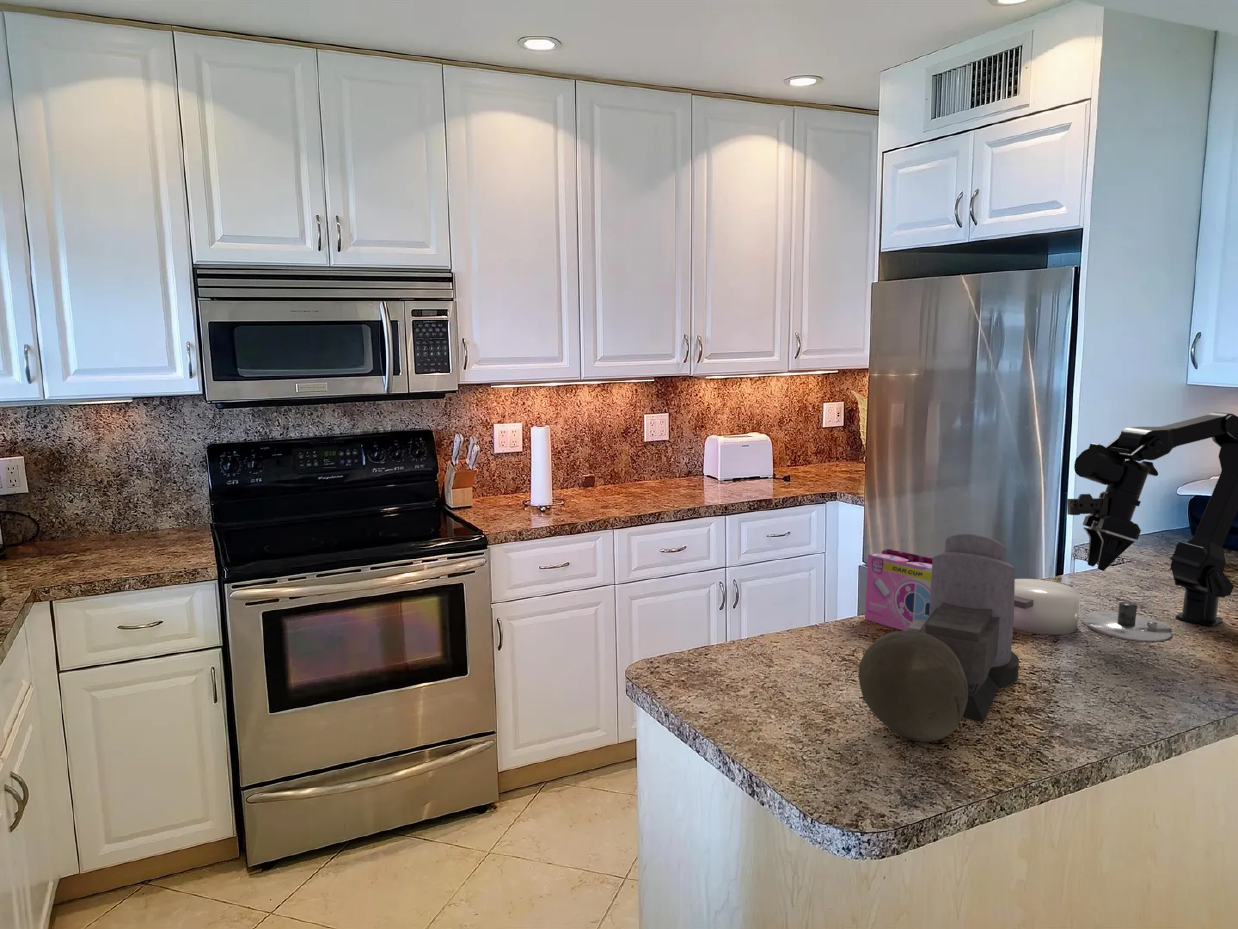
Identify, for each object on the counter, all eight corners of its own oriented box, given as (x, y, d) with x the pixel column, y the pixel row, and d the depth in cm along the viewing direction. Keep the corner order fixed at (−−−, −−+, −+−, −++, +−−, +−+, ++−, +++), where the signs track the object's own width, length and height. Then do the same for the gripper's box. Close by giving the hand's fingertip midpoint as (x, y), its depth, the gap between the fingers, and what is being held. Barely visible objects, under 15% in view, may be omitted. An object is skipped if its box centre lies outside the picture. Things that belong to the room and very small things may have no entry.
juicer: (929, 644, 157) (937, 514, 153) (1024, 661, 148) (1035, 524, 145) (887, 701, 131) (896, 548, 128) (999, 727, 123) (1012, 563, 119)
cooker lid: (1101, 612, 176) (1104, 588, 176) (1183, 632, 165) (1186, 606, 164) (1068, 627, 167) (1070, 601, 167) (1152, 649, 156) (1155, 622, 155)
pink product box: (857, 618, 171) (860, 552, 169) (879, 610, 176) (882, 546, 174) (971, 651, 153) (977, 578, 151) (992, 641, 158) (997, 571, 156)
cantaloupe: (938, 714, 127) (944, 618, 124) (981, 761, 113) (989, 653, 110) (845, 715, 126) (849, 618, 124) (876, 762, 112) (882, 653, 110)
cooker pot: (1026, 604, 180) (1029, 572, 179) (1095, 622, 169) (1099, 588, 168) (978, 623, 168) (980, 588, 167) (1049, 643, 157) (1052, 606, 156)
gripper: (1069, 478, 174) (1043, 550, 175) (1088, 477, 156) (1059, 557, 158) (1128, 496, 171) (1101, 569, 172) (1154, 497, 153) (1124, 578, 154)
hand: (1095, 567), depth 164 cm, fingers open, 9 cm apart
